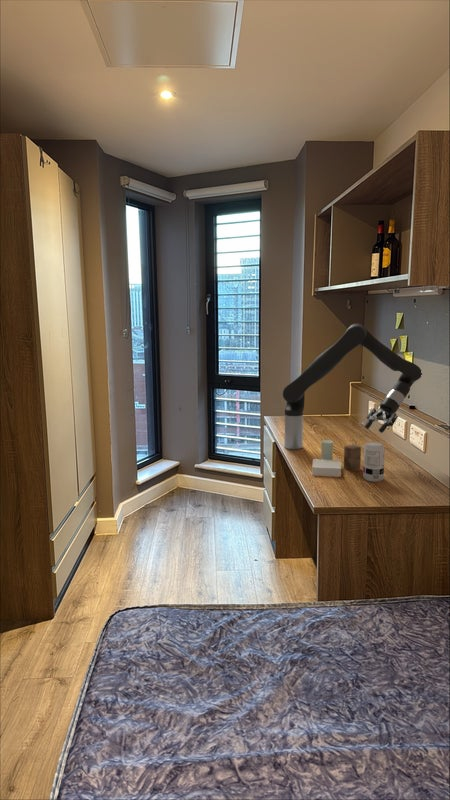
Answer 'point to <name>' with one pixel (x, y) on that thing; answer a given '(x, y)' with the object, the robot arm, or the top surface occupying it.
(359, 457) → the walnut block
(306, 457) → the top surface
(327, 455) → the sage green block
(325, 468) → the base block
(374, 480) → the supplement can
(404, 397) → the robot arm
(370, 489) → the top surface
